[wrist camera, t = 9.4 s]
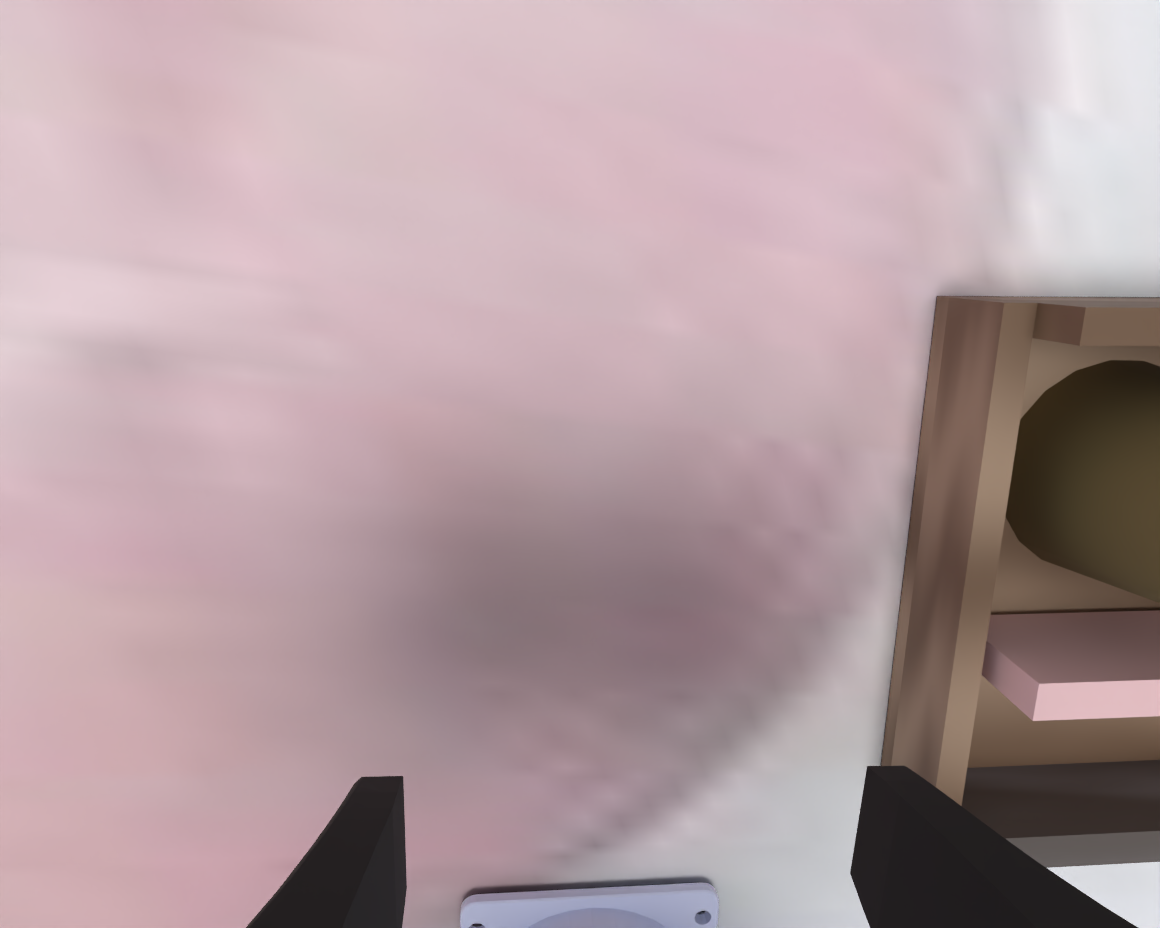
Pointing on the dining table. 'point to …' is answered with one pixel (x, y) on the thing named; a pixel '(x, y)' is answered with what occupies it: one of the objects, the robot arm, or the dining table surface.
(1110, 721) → the open box
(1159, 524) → the olive bulbous piece
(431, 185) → the dining table surface
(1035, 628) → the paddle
